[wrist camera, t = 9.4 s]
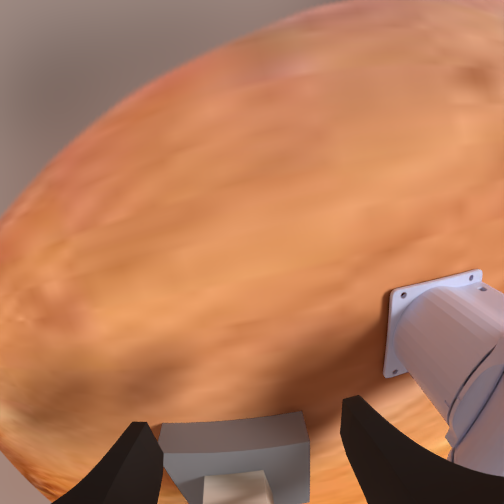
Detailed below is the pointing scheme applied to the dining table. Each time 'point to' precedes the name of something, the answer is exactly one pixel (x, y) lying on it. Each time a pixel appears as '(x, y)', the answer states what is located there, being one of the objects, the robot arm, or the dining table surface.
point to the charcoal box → (240, 454)
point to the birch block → (237, 489)
